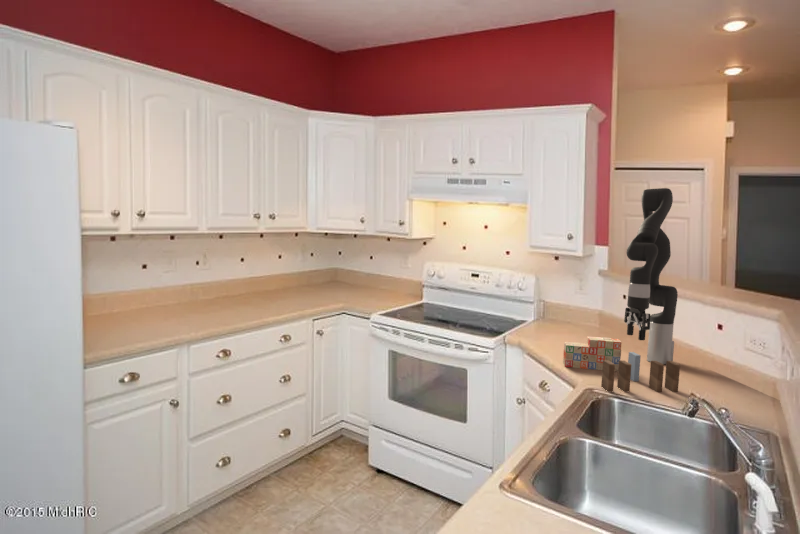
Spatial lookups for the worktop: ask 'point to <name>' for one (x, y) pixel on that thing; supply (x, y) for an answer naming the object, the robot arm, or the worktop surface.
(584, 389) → the worktop surface
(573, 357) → the stack of blocks
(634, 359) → the domino
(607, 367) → the domino end
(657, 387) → the domino
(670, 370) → the domino
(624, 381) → the domino
